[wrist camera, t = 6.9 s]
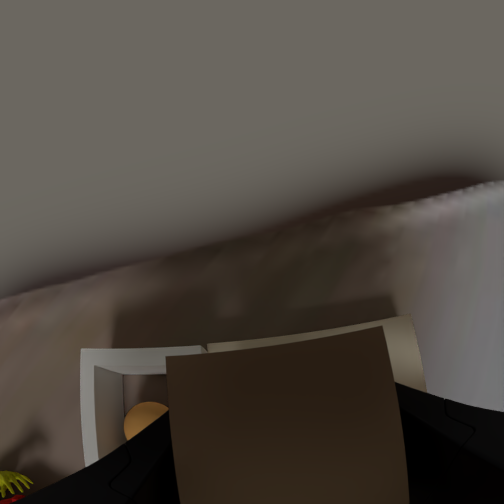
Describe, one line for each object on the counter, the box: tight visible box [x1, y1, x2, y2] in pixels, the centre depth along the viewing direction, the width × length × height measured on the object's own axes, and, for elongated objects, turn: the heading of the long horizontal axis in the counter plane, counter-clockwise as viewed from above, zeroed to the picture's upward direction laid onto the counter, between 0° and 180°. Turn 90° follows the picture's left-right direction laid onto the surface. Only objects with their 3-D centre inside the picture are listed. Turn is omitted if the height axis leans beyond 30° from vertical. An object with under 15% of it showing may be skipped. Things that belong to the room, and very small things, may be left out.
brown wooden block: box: [165, 325, 409, 504], centre depth 10 cm, size 4×4×11 cm
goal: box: [80, 345, 208, 467], centre depth 15 cm, size 8×9×4 cm
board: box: [207, 314, 427, 393], centre depth 16 cm, size 10×13×2 cm
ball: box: [124, 402, 169, 440], centre depth 15 cm, size 4×4×4 cm
